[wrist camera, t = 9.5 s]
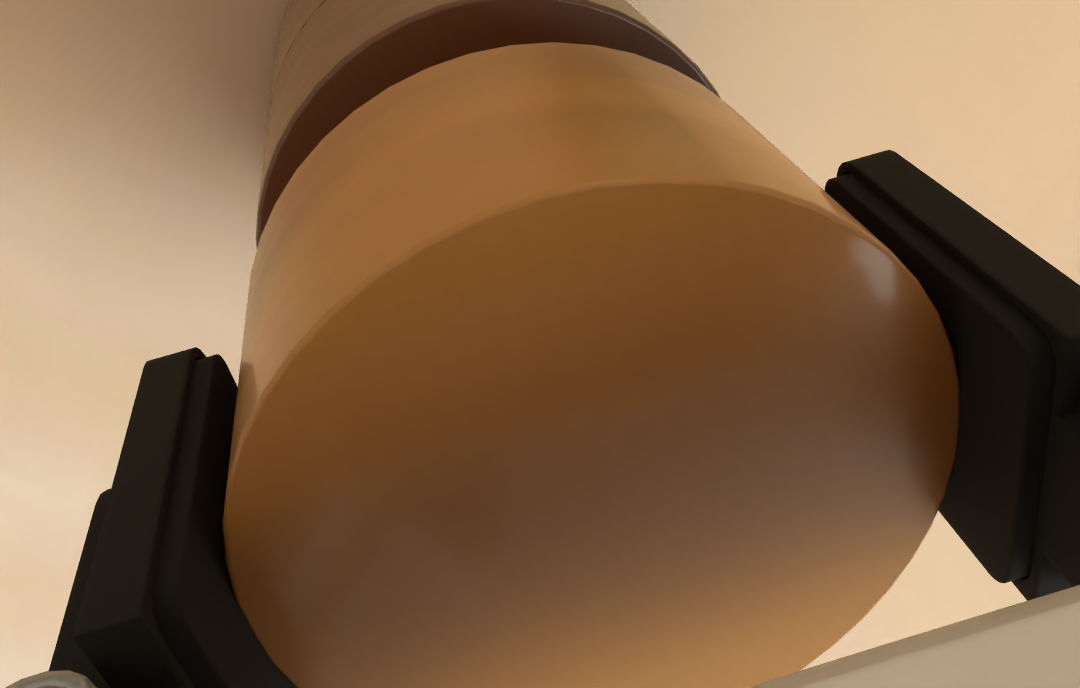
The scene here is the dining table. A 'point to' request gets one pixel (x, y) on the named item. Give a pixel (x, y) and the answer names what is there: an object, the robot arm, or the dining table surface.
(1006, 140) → the dining table surface
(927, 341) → the tan short cylinder
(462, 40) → the pile middle chip
